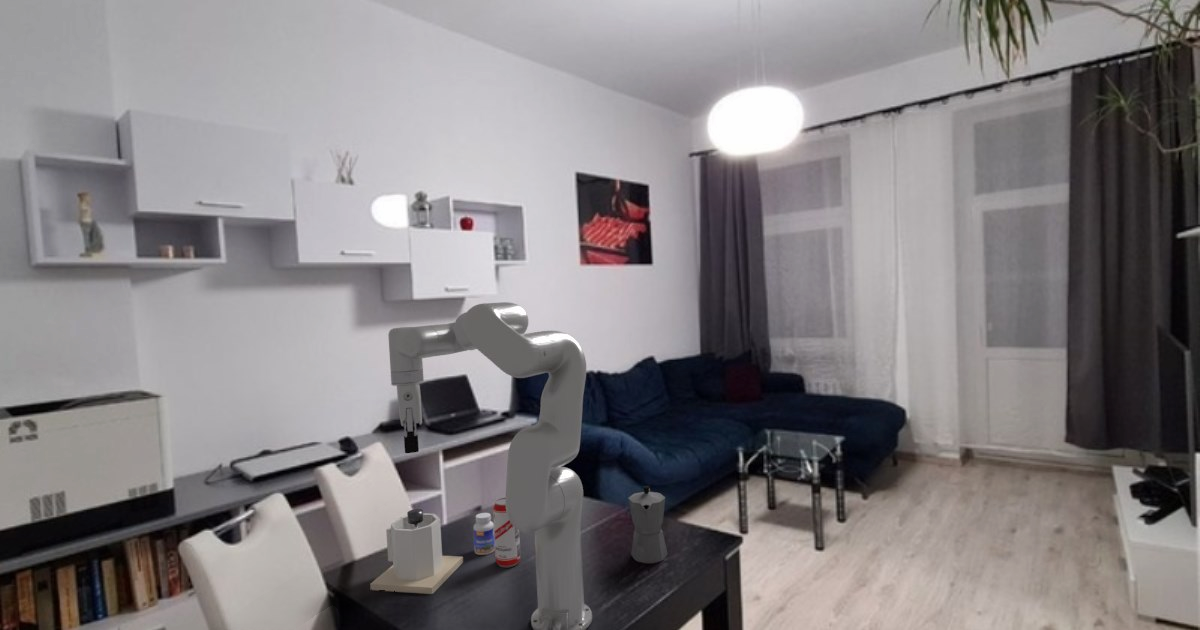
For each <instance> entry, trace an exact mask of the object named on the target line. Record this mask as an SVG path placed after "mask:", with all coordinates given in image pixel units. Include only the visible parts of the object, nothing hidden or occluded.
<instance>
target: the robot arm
mask: <svg viewBox="0 0 1200 630" xmlns="http://www.w3.org/2000/svg"><path fill="white" fill-rule="evenodd" d="M528 326H529V317H528V314H527V312H526V310H525V309H524V308H523V307H522V306H521V305H520V304H519V305H518V304H517V303H514V302H510V301H509V302H489V303H485V302H484V303H478V304H475V305H473V306H471V308H468V310H467V311H466V312H463V313H461V314H460V315H459V316H458V317H456V319H455V322H450V323H445V324H444V323H443V324H432V325H431V324H430V325H419V326H404V327H403V326H402V327H401V326H400V327H394V328H391V329H390V330H389V332H388V349H389V351H388V352H389V364H390V365H389V366H390V367H389V368H390V382H391V383H390V384H391V386H394V387H396V392H397V393H396V395H397V406H398V413H399V420H400V421H399V422H400V425H401V426H402V427H403V428H404V435H403V442H404V443H403V444H404V453H405V454H414V453H418V452H419V451H420V450H419V434H418V433H417V432H418V431H417V424H419V425H422V424H423V412H422V411H423V410H422V395H421V385H420V384H423V383H424V381H425V380H424V365H423V364H424V363H423V359H425V358H426V359H427V358H433V357H437V356H438V357H439V356H447V355H453V354H457V353H462V352H466V351H474V350H478V351H479V353H481V354H482V355H484V356H485V357H486V358H487V359H488V360H489V361H490V362H492V364H494V365H495V366H496V367H497V368H499V369H500V371H502V372H503V373H505V374H506V375H508V376H510V377H513V378H516V379H525V378H529V377H533V376H537V375H538V376H539V375H542V374H548V379H547V381H546V382H545V384H544V388H543V390H542V393H541V397H540V409H539V410H540V412H539V417H538V421H537V423H535V424H533V425H528V426H527V427H524V428H523V429H521V430H520V431H518V432H517V433H516V434H515V435H514V437H513V438H512V440H511V442H510V444H509V448H508V453H507V464H506V468H507V469H506V481H505V497H504V498H505V503H506V512H507V515H508V518H509V520H510V522H511V524H512V525H513V526H514V527H515V528H516V529H517V530H519V532H520V533H521V532H522V533H533V532H534V554H535V573H536V591H537V592H536V593H537V594H536V595H537V608H536V609H534V611H533V613H532V614H531V617H530V623H531V624H530V625H531V628H532V629H533V630H587V628H588V627H589V626H590V625H591V623H592V621H593V612H592V610H591V608H590V607H589V605H587V604H586V603H585V597H584V596H585V595H584V580H583V579H584V577H583V555H582V537H581V536H582V534H581V533H582V532H581V528H582V526H581V525H582V521H581V520H582V511H583V502H584V489H583V488H584V487H583V484H582V480H581V479H580V476H579V475H578V474H577V473H576V472H575V471H574V470H572V469H571V468H568V467H565V465H567V464H569V463H571V462H572V461H573V460H574V459H575V458H577V456H578V454H579V452H580V448H581V447H580V446H581V437H582V436H581V434H582V433H581V432H582V421H583V403H584V392H585V386H586V385H585V384H586V378H587V360H586V355H585V353H584V351H583V348H582V347H581V345H580V343H579V342H578V341H577V340H576V339H575V338H574V337H573V336H571V335H569V334H568V333H567V332H563V331H558V330H542V331H536V332H535V331H533V332H528V333H526V332H527V330H528Z"/></svg>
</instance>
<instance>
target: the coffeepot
mask: <svg viewBox="0 0 1200 630" xmlns="http://www.w3.org/2000/svg"><path fill="white" fill-rule="evenodd" d="M642 490H643V491H640V492H635V493H633V494H632V495H630V496H629V497H627V500H628V503H629V509H630V513H631V521H632V523H633V525H634V531H633V536H632V545H631V552H630V553H631V554H630V555H631V557H632V558H633V560H634V561H636V562H638V563H641V562H642V563H641V564H656V563H660V562H663V561H664V560H666V558H667V556H668V549H667V546H666V541H665V535H664V532H663V530H662V525H663V523H664V516H665V515H664V514H665V505H666V504H665V503H666V496H664V495H663V494H662V493H660V492H656V491H655V492H654V491H651V487H650V486H649V485H645V486H643V487H642Z"/></svg>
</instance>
